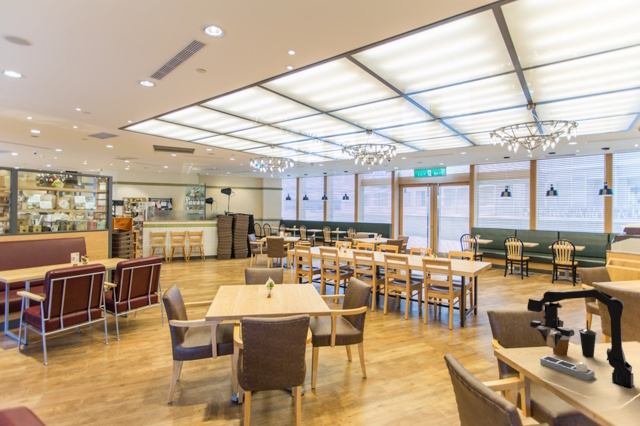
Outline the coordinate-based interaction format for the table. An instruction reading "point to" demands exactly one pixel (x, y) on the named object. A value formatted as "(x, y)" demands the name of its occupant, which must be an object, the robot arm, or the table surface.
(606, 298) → the robot arm
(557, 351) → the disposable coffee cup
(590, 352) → the drinking cup
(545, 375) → the table surface
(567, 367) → the egg tray
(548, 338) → the brown egg
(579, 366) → the cream egg
